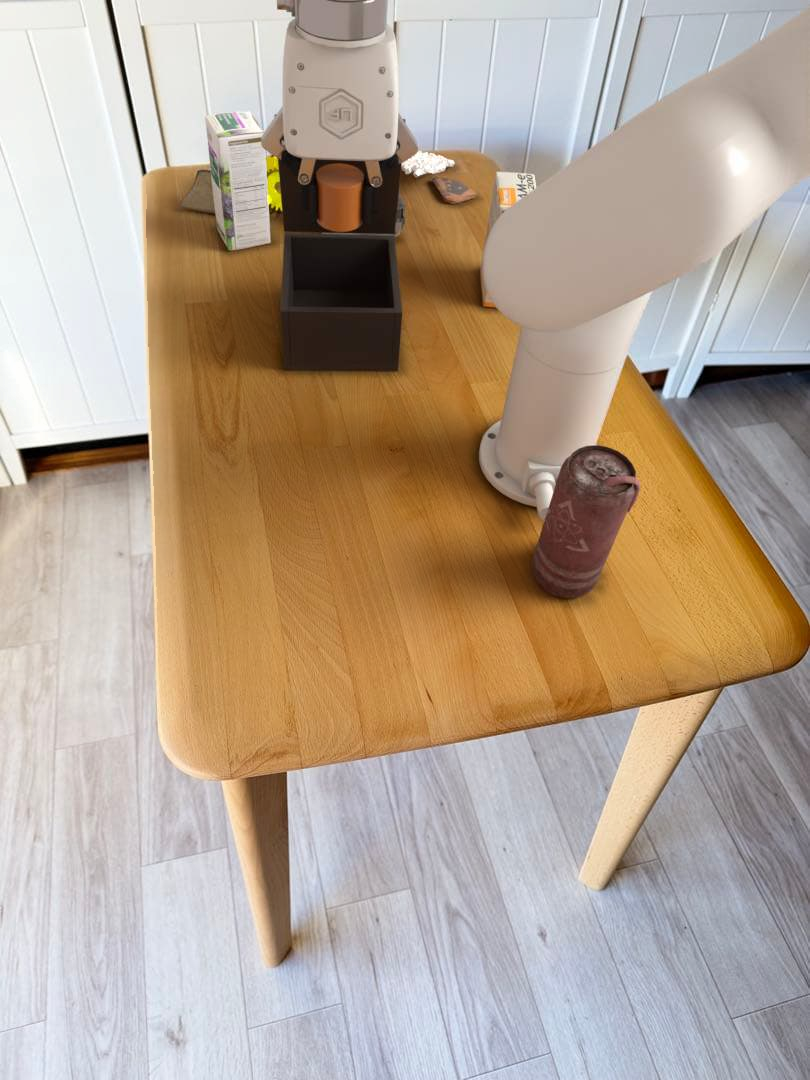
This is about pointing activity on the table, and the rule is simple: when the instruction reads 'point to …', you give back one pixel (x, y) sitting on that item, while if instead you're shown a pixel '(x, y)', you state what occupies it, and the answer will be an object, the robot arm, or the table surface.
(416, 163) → the salt crystals
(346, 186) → the orange cylinder
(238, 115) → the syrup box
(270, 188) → the gear
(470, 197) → the pottery shard
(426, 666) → the table surface
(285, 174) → the chamber lid
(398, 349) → the box
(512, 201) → the supplement box
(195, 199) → the ceramic shard
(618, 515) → the can
